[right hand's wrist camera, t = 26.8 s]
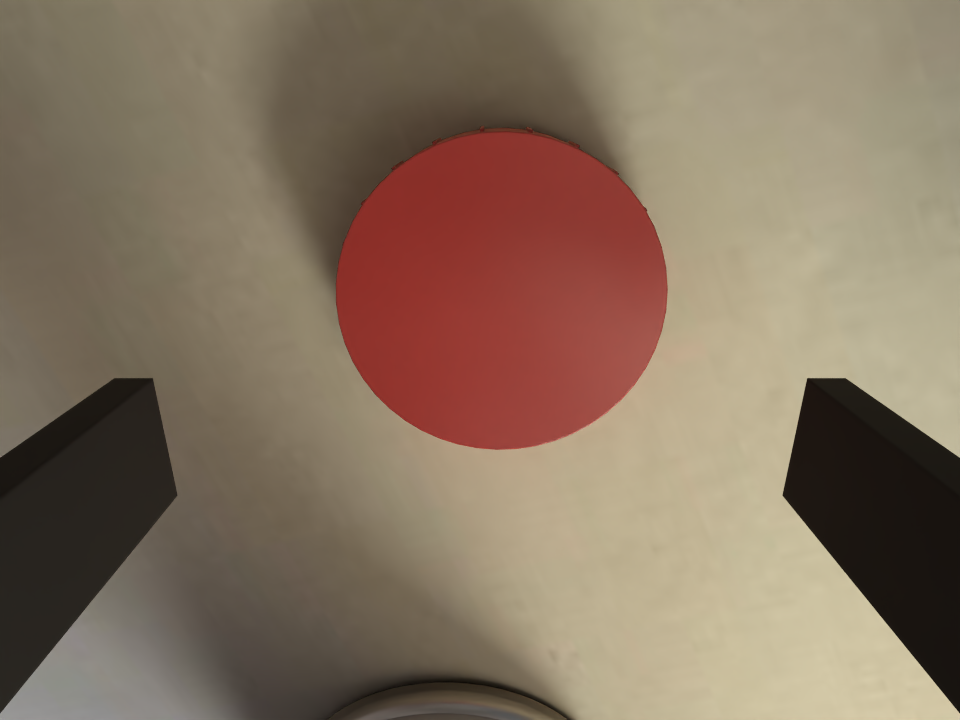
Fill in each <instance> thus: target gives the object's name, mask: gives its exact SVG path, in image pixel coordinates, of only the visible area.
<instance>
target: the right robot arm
mask: <svg viewBox="0 0 960 720" xmlns="http://www.w3.org/2000/svg"><path fill="white" fill-rule="evenodd" d="M176 497H177V491H176V486H175V482H174V477H173V472H172V467H171V463H170V458H169V453H168V449H167V444H166V439H165V434H164V430H163V425H162V420H161V415H160V411H159V406H158V401H157V396H156V392H155V387H154V382H153V378H114V379H113V380H111V381H110V382H109V383H107V384H106V385H104V386H103V387H101V388H100V389H98V390H97V391H96V392H94V393H93V394H91V395H90V396H88V397H87V398H86V399H84V400H83V401H81V402H80V403H78V404H77V405H76V406H74V407H73V408H71V409H70V410H68V411H67V412H65V413H64V414H63V415H61V416H60V417H58V418H57V419H55V420H54V421H53V422H51V423H50V424H48V425H47V426H45V427H44V428H42V429H41V430H40V431H38V432H37V433H35V434H34V435H32V436H31V437H30V438H28V439H27V440H25V441H24V442H22V443H21V444H20V445H18V446H17V447H15V448H14V449H12V450H11V451H9V452H8V453H7V454H5V455H4V456H2V457H1V458H0V713H1V712H2V710H3V709H4V708H5V707H6V705H7V704H8V703H9V702H10V701H11V699H12V698H13V697H14V696H15V694H16V693H17V692H18V691H19V690H20V688H21V687H22V686H23V685H24V683H25V682H26V681H27V680H28V678H29V677H30V676H31V675H32V674H33V672H34V671H35V670H36V669H37V667H38V666H39V665H40V664H41V662H42V661H43V660H44V659H45V658H46V656H47V655H48V654H49V653H50V651H51V650H52V649H53V648H54V647H55V645H56V644H57V643H58V642H59V640H60V639H61V638H62V637H63V635H64V634H65V633H66V632H67V631H68V629H69V628H70V627H71V626H72V624H73V623H74V622H75V621H76V619H77V618H78V617H79V616H80V615H81V613H82V612H83V611H84V610H85V608H86V607H87V606H88V605H89V604H90V602H91V601H92V600H93V599H94V597H95V596H96V595H97V594H98V592H99V591H100V590H101V589H102V588H103V586H104V585H105V584H106V583H107V581H108V580H109V579H110V578H111V576H112V575H113V574H114V573H115V572H116V570H117V569H118V568H119V567H120V565H121V564H122V563H123V562H124V561H125V559H126V558H127V557H128V556H129V554H130V553H131V552H132V551H133V549H134V548H135V547H136V546H137V545H138V543H139V542H140V541H141V540H142V538H143V537H144V536H145V535H146V533H147V532H148V531H149V530H150V529H151V527H152V526H153V525H154V524H155V522H156V521H157V520H158V519H159V518H160V516H161V515H162V514H163V513H164V511H165V510H166V509H167V508H168V506H169V505H170V504H171V503H172V502H173V500H174V499H175V498H176ZM783 497H784V498H785V499H786V500H787V502H788V503H789V504H790V505H791V506H792V508H793V509H794V510H795V511H796V513H797V514H798V515H799V516H800V518H801V519H802V520H803V521H804V522H805V524H806V525H807V526H808V527H809V529H810V530H811V531H812V532H813V533H814V535H815V536H816V537H817V538H818V540H819V541H820V542H821V543H822V545H823V546H824V547H825V548H826V549H827V551H828V552H829V553H830V554H831V556H832V557H833V558H834V559H835V561H836V562H837V563H838V564H839V565H840V567H841V568H842V569H843V570H844V572H845V573H846V574H847V575H848V576H849V578H850V579H851V580H852V581H853V583H854V584H855V585H856V586H857V588H858V589H859V590H860V591H861V592H862V594H863V595H864V596H865V597H866V599H867V600H868V601H869V602H870V604H871V605H872V606H873V607H874V608H875V610H876V611H877V612H878V613H879V615H880V616H881V617H882V618H883V619H884V621H885V622H886V623H887V624H888V626H889V627H890V628H891V629H892V631H893V632H894V633H895V634H896V635H897V637H898V638H899V639H900V640H901V642H902V643H903V644H904V645H905V647H906V648H907V649H908V650H909V651H910V653H911V654H912V655H913V656H914V658H915V659H916V660H917V661H918V662H919V664H920V665H921V666H922V667H923V669H924V670H925V671H926V672H927V674H928V675H929V676H930V677H931V678H932V680H933V681H934V682H935V683H936V685H937V686H938V687H939V688H940V690H941V691H942V692H943V693H944V694H945V696H946V697H947V698H948V699H949V701H950V702H951V703H952V704H953V705H954V707H955V708H956V709H957V710H958V712H959V713H960V458H959V457H958V456H956V455H955V454H953V453H952V452H951V451H949V450H948V449H946V448H945V447H943V446H942V445H940V444H939V443H938V442H936V441H935V440H933V439H932V438H930V437H929V436H928V435H926V434H925V433H923V432H922V431H920V430H919V429H918V428H916V427H915V426H913V425H912V424H910V423H909V422H907V421H906V420H905V419H903V418H902V417H900V416H899V415H897V414H896V413H895V412H893V411H892V410H890V409H889V408H887V407H886V406H884V405H883V404H882V403H880V402H879V401H877V400H876V399H874V398H873V397H872V396H870V395H869V394H867V393H866V392H864V391H863V390H862V389H860V388H859V387H857V386H856V385H854V384H853V383H851V382H850V381H849V380H847V379H846V378H807V382H806V387H805V392H804V396H803V401H802V406H801V411H800V415H799V420H798V425H797V430H796V434H795V439H794V444H793V449H792V453H791V458H790V463H789V467H788V472H787V477H786V482H785V486H784V491H783ZM328 720H567V719H566V718H565V717H563V716H562V715H560V714H559V713H557V712H556V711H554V710H552V709H550V708H549V707H547V706H545V705H543V704H541V703H539V702H537V701H535V700H532V699H530V698H527V697H525V696H522V695H519V694H516V693H513V692H509V691H506V690H503V689H498V688H493V687H489V686H483V685H476V684H468V683H453V682H436V683H422V684H414V685H407V686H401V687H397V688H392V689H388V690H385V691H382V692H378V693H375V694H372V695H370V696H367V697H365V698H362V699H360V700H358V701H356V702H354V703H352V704H350V705H348V706H346V707H345V708H343V709H342V710H340V711H338V712H337V713H335V714H334V715H333V716H332V717H330V718H329V719H328Z"/></svg>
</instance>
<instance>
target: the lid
mask: <svg viewBox="0 0 960 720" xmlns="http://www.w3.org/2000/svg"><path fill="white" fill-rule="evenodd" d="M432 143H433V145H431V146H429V147H427V148H425V149H423V150H422V151H420V152H419V153H417V154H416V155H414V156H413V157H411V158H410V159H408V160H407V161H405V162H403V161H401V162H400V163H398V164H397V165H395V166H394V167H392V168H391V169H392V170H393V171H392V172H391V173H390V174H389V175H388V176H387V177H386V178H385V179H384V180H383V181H381V182H380V183H379V184H378V185H377V187H376V188H375V189H374V190H373V192H372V193H371V194H370V195H369V197H368V198H366V199H365V200H364V201H362V203H361V205H362V206H361V208H360V210H359V211H358V213H357V215H356V216H355V218H354V220H353V221H352V224H351V226H350V229H349V231H348V233H347V236H346V238H345V240H344V242H343V247H342V251H341V255H340V258H339V262H338V270H337V278H336V306H337V312H338V319H339V325H340V328H341V332H342V335H343V339H344V342H345V345H346V347H347V349H348V352H349V354H350V356H351V359H352V361H353V363H354V364H355V366H356V368H357V369H358V371H359V373H360V374H361V376H362V378H363V379H364V381H365V382H366V383H367V384H368V386H369V387H370V388H371V390H372V391H373V392H374V393H375V395H376V396H377V397H378V398H379V399H380V400H381V401H382V402H383V403H385V404H386V405H387V406H388V407H389V408H390V409H391V410H392V411H393V412H395V413H396V414H397V415H399V416H400V417H401V418H402V419H404V420H405V421H407V422H408V423H410V424H412V425H413V426H415V427H417V428H418V429H420V430H422V431H424V432H426V433H429V434H431V435H433V436H435V437H437V438H440V439H443V440H446V441H449V442H452V443H455V444H459V445H464V446H469V447H474V448H483V449H495V450H499V449H519V448H526V447H532V446H537V445H541V444H545V443H549V442H553V441H556V440H558V439H561V438H563V437H566V436H568V435H571V434H573V433H575V432H577V431H579V430H581V429H583V428H584V427H586V426H588V425H590V424H591V423H593V422H594V421H596V420H597V419H599V418H600V417H602V416H603V415H604V414H606V413H607V412H608V411H609V410H610V409H612V408H613V407H614V406H615V405H616V404H617V403H618V402H619V401H621V400H622V398H623V397H624V396H625V395H626V394H627V393H628V392H629V390H630V389H631V388H632V387H633V386H634V385H635V383H636V382H637V380H638V379H639V377H640V376H641V374H642V373H643V371H644V370H645V369H646V367H647V365H648V363H649V361H650V359H651V357H652V355H653V353H654V351H655V349H656V346H657V343H658V340H659V337H660V334H661V332H662V327H663V323H664V318H665V313H666V304H667V290H668V288H667V274H666V265H665V260H664V256H663V251H662V247H661V244H660V241H659V238H658V236H657V233H656V230H655V227H654V225H653V223H652V221H651V220H650V218H649V216H648V214H647V212H646V211H647V210H646V208H645V207H643V205H642V204H641V203H640V201H639V200H638V198H637V197H636V196H635V194H634V193H633V192H632V190H631V189H630V188H629V187H628V186H627V185H626V184H625V183H624V182H623V181H622V180H621V179H620V178H619V177H618V176H617V175H618V174H619V173H618V172H617V171H615V170H613V169H611V168H610V167H608V166H605V165H604V164H603V163H601V162H600V161H599V160H597V159H596V158H594V157H592V156H591V155H589V154H587V153H585V152H583V151H582V150H580V149H578V148H579V146H580V145H578V144H576V143H574V142H572V141H569V142H568V143H567V142H565V141H562V140H560V139H557V138H554V137H552V136H549V135H547V134H543V133H538V132H534V131H533V129H531V128H530V127H526V130H525V129H513V128H490V129H485V127H484V126H481V127H480V130H475V131H470V132H464V133H460V134H458V135H455V136H452V137H449V138H446V139H443V140H442V139H441V138H438V139H437V140H435V141H433V142H432Z"/></svg>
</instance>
